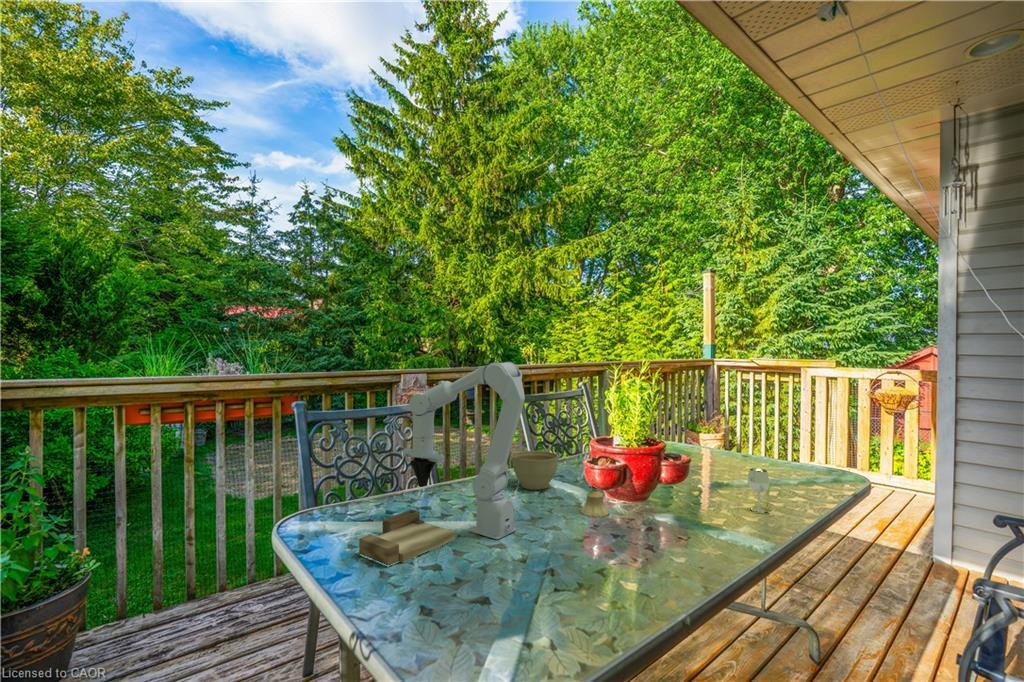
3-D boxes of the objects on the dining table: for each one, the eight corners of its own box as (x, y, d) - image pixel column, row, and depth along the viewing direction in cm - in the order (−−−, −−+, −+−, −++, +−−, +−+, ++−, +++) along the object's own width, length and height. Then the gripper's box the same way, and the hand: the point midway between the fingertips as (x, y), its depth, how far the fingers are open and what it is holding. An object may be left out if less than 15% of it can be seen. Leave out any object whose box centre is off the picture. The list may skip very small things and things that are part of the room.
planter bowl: (566, 484, 174) (566, 453, 174) (544, 496, 160) (544, 462, 160) (526, 478, 182) (526, 448, 182) (502, 488, 168) (502, 456, 169)
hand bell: (601, 519, 138) (601, 462, 139) (575, 513, 143) (575, 458, 144) (614, 511, 145) (614, 457, 145) (589, 506, 150) (589, 453, 150)
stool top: (455, 540, 123) (455, 523, 123) (391, 569, 106) (391, 550, 106) (419, 528, 130) (419, 513, 130) (353, 553, 114) (353, 536, 114)
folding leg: (419, 526, 131) (419, 510, 131) (390, 538, 123) (390, 521, 123) (411, 524, 133) (411, 508, 133) (382, 536, 124) (382, 518, 124)
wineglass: (764, 508, 149) (764, 468, 150) (772, 514, 144) (772, 472, 144) (744, 507, 150) (744, 467, 150) (752, 513, 144) (752, 472, 144)
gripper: (452, 437, 136) (452, 487, 136) (416, 431, 145) (415, 478, 144) (434, 441, 130) (433, 493, 130) (397, 435, 139) (396, 483, 139)
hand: (422, 485), depth 137 cm, fingers closed
